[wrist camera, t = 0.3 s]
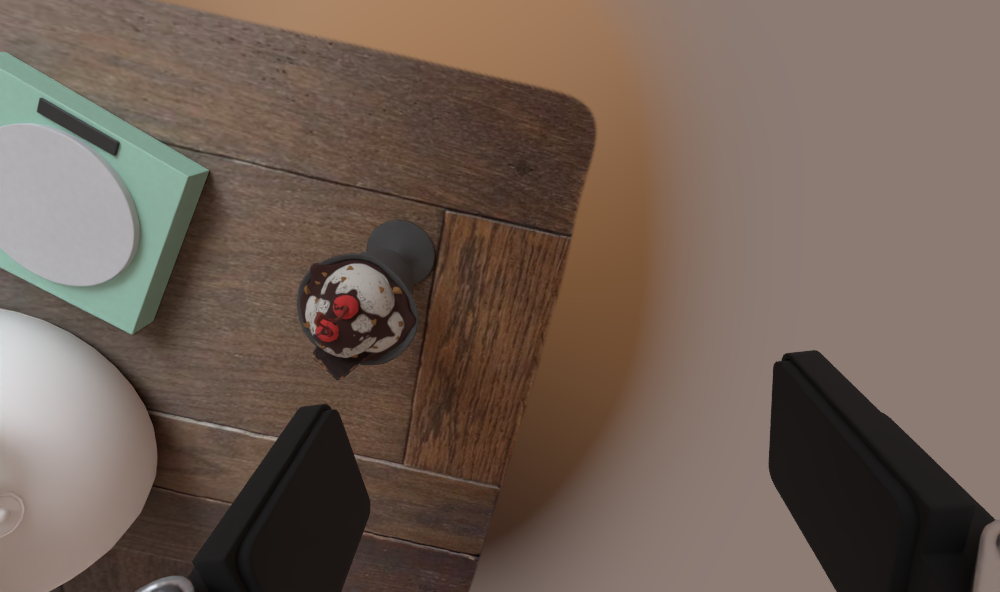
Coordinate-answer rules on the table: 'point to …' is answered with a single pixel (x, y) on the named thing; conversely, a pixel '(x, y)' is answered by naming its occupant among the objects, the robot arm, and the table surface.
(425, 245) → the sundae
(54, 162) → the scale
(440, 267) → the table surface
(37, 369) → the pot
